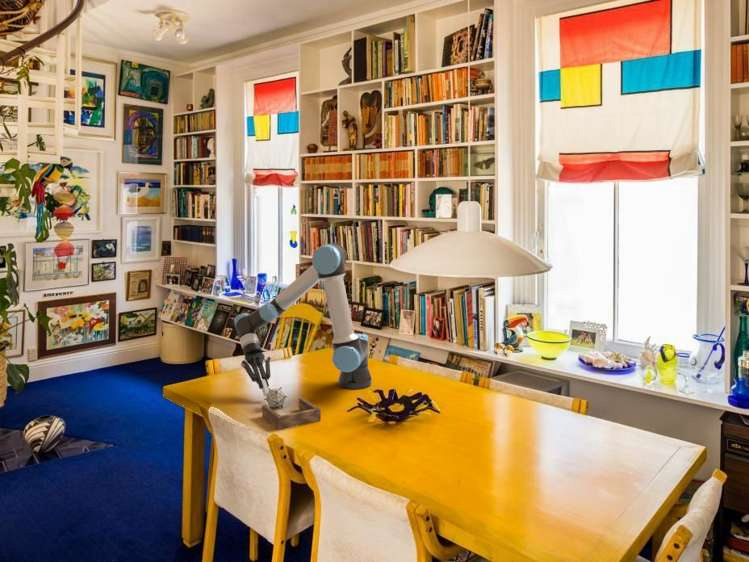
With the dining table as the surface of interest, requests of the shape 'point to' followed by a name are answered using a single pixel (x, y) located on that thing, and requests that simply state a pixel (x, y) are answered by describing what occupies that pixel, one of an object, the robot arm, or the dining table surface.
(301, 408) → the shallow brown tray
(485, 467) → the dining table surface
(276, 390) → the grey spiked ball
